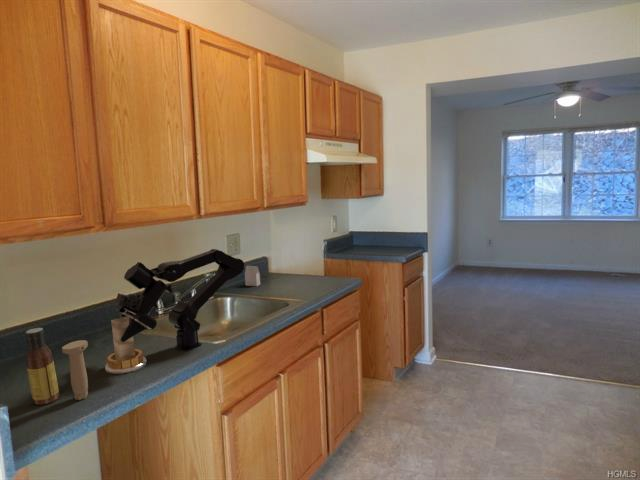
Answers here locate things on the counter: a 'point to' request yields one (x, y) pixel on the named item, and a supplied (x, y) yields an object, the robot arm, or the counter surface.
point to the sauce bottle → (40, 368)
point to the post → (121, 348)
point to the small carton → (252, 276)
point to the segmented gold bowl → (125, 363)
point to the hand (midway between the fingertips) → (118, 339)
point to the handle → (77, 368)
